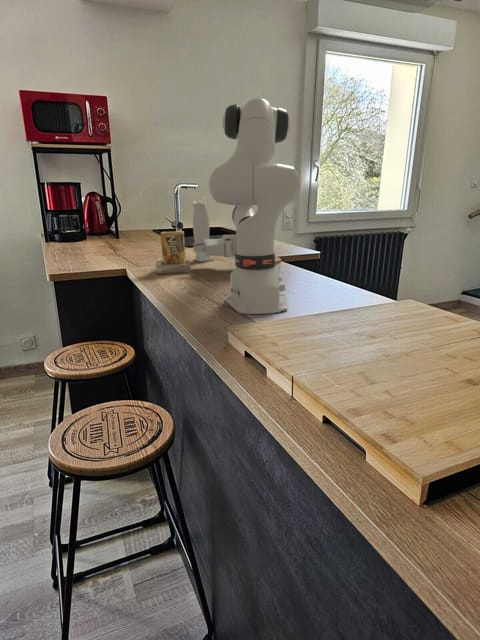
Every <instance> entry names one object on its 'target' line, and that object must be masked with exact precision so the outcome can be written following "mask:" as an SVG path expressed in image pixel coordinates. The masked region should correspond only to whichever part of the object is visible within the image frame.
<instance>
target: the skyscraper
mask: <svg viewBox="0 0 480 640" xmlns="http://www.w3.org/2000/svg"><path fill="white" fill-rule="evenodd" d="M191 204H192V207H193V216H192V230H193V231H192V232H193V233H192V234H193V239H194V243H199V242H204V239H210V218H209V215H208V211H207V206H208V198H206V197H205V196H204V197H203V198H202V200H197V201H195V200H193V201H192V203H191ZM210 256H211V255H207V254H206V252H199V251H198V252H196V253H195V257H194V259H193V261H194V260H196V261H195V262H198V263H207V262H212V261H215V258H214V259H213V258H211V257H210Z"/></svg>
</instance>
